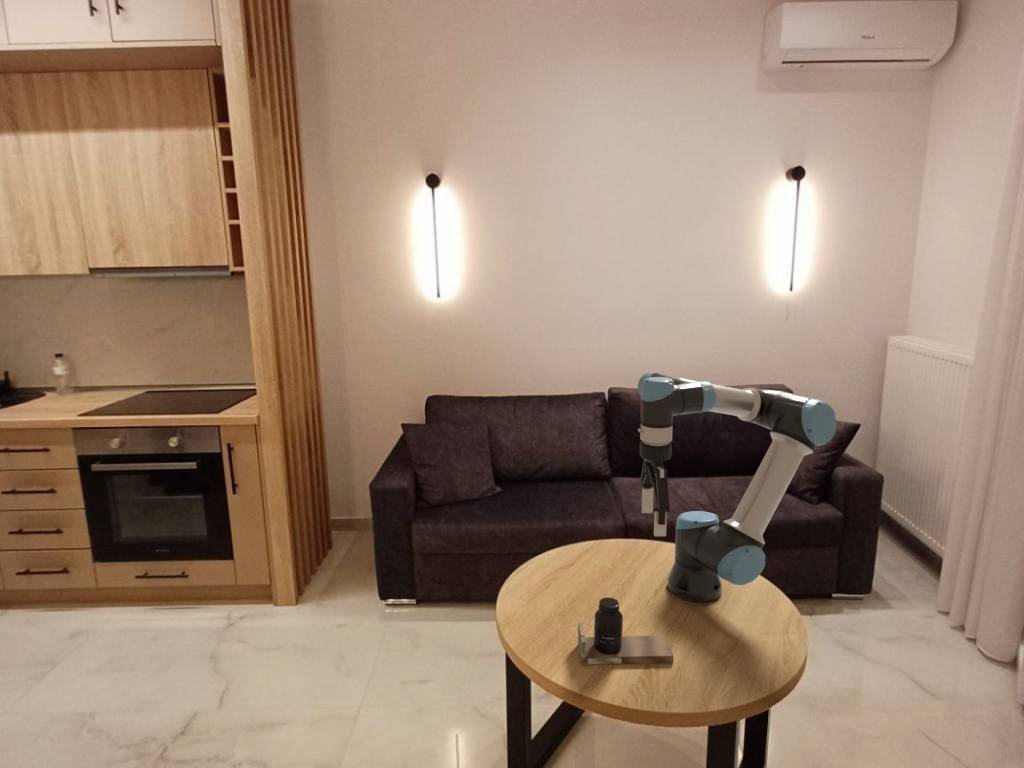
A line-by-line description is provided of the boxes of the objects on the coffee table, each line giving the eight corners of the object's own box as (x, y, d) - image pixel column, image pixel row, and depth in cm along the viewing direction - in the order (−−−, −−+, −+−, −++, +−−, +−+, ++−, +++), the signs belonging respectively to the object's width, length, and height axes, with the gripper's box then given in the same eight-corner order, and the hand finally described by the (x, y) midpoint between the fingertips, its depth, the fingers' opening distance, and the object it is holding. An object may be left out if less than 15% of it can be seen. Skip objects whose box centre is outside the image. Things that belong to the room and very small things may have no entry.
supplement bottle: (604, 658, 146) (605, 613, 144) (588, 643, 152) (588, 599, 150) (627, 650, 149) (628, 605, 147) (611, 635, 155) (611, 592, 153)
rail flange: (664, 642, 155) (665, 620, 154) (673, 663, 147) (674, 640, 146) (577, 643, 155) (578, 621, 154) (581, 665, 147) (581, 642, 146)
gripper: (630, 427, 160) (628, 504, 165) (652, 458, 136) (649, 546, 140) (658, 427, 160) (656, 503, 165) (686, 457, 136) (682, 546, 140)
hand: (653, 523), depth 152 cm, fingers open, 13 cm apart
